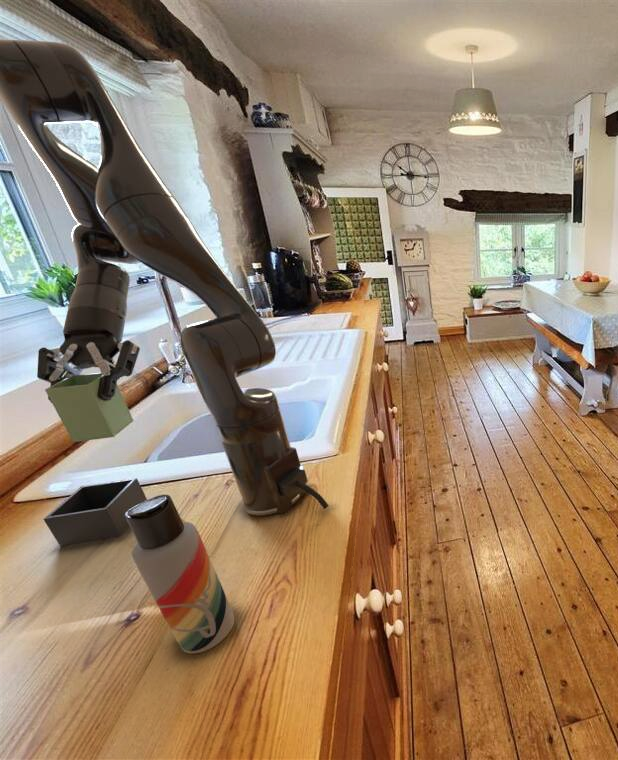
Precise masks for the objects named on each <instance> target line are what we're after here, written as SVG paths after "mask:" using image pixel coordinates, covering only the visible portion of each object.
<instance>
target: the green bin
mask: <svg viewBox="0 0 618 760" xmlns="http://www.w3.org/2000/svg"><path fill="white" fill-rule="evenodd" d="M103 376H104V375H102V373H101V372H94V373H93V372H92V373H83V374H82V373H81V374H79V375H74V376H70V377H68V378H66V379H64V380H62V381H60V382H58V383H56V384H55V385H53V386H51V387H50V386H48V387H47V388H45V389H44V391H45V393H46V394H47V397H48V396H49V398H50V400H51V402H52V403H51V402H50V403H51V404H52V406H53V408H54V409H55V412H56V413H57V415H58V417H59V419H60V421H61V422H62V424H63V426H64V428H65V430H66V432H67V434H68V436H69V438H70V439H71V441H72V442H73V443H78V442H87V441H94V440H101V439H108V438H115V437H116V436H117V435H119V434H120V433H121V432H122V431H123V430H125V428H127V427H128V426H129V425H131V424H132V423H133V422H134V418H133V415H132V413H131V412H130V409H129V407H128V404H127V403H126V401H125V398H124V397H123V394H122V391H121V390H120V387H119V386H118V383H117V384H116V390H115V395H114V396H113V397H112V398H111V400H108V401H104V400H102V399H100V398H98V396H97V394H98V388H99V382H100V377H103ZM50 400H49V401H50Z"/></svg>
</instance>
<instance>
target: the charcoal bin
mask: <svg viewBox="0 0 618 760" xmlns="http://www.w3.org/2000/svg"><path fill="white" fill-rule="evenodd" d="M146 500H148V499H147V497H146V494H145V492H144V490H143V487H142V485H141V484H140V482H139V480H138V478H137V477H134V478H128V479H127V478H126V479H121V480H113V481H108V482H101V483H100V482H99V483H94V484H86V485H81V486H79V487H78V488H77V489H76V490H75V491H73V492H72V493H71V494H70V495H69V496H68V497H67V498H66V499H65V500H63V501H62V502H61V503H60V504H59V505H57V507H55V508H54V509H53V510H52V511H51V512H50V513H49V514H48V515H46V516H45V517H44V518H43V521H44V523H45V525H46V527H48V530H50V532H51V534H52V536H53V537H54V539H55V541H56V542H57V544H58V545H59V547H68V546H74V545H79V544H84V543H85V544H86V543H91V542H96V541H97V542H98V541H103V540H107V539H108V540H109V539H113V538H114V539H115V538H120V537H122V536H123V535H124V533H125V532H126V531H127V530H128V529H129V528H130V525H129V523H128V521H127V519H126V517H125V513H126V512H127V511H128V510H129V509H131V508H133V507H134V506H136V505H138V504H140V503H142V502H144V501H146Z"/></svg>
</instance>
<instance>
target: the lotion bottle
mask: <svg viewBox="0 0 618 760" xmlns="http://www.w3.org/2000/svg"><path fill="white" fill-rule="evenodd" d="M125 517H126V519H127V521H128V523H129V525H130V526H129V528H130V529H131V532H132V534H133V536H134V538H135V540H136V543H135V545H134V546H133V548H132V549H131V557H132V559H133V561H134V564H135V566H136V568H137V569H138V572H139V573H140V575H141V577H142V579H143V581H144V583H145V585H146V586H147V588H148V590H149V592H150V594H151V596H152V598H153V600H154V602H155V603H156V605H157V608H158V609H159V611H160V613H161V615H162V616H163V618H164V620H165V622H166V624H167V626H168V628H169V630H170V631H171V633H172V635H173V637H174V638H175V639H174V640H176V642H177V644H178V646H179V647H180V648H181V650H182V651H183V652H184V653H187V654H199V653H202V652H206V651H208V650H211V649H212V648H214V647H215V646H217V645H218V644H220V643H221V642H222V641H223V640H224V639H225V638H226V637H227V636H228V635H229V634H230V632H231V631H232V628H233V626H234V624H235V615H234V612H233V609H232V607H231V604H230V602H229V600H228V596H227V595H226V593H225V590H224V588H223V586H222V583H221V581H220V579H219V576H218V575H217V572H216V570H215V567H214V565H213V562H212V561H211V558H210V556H209V554H208V551H207V549H206V546H205V544H204V542H203V539H202V537H201V535H200V533H199V531H198V529H197V527H196V525H195V524H194V523H192V522H189V521H186V522H182V520H181V518H182V517H181V516H180V514H179V512H178V510H177V507H176V505H175V503H174V500H173V499H172V497H171V495H169V494H159V495H156V496H153V497H150V498H149V499H147V500H146V501H144V502H142V503H140V504H138V505H136V506H134V507H133V508H131V509H129V510H128V511H127V512H126V513H125Z"/></svg>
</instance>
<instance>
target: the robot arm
mask: <svg viewBox="0 0 618 760" xmlns="http://www.w3.org/2000/svg"><path fill="white" fill-rule="evenodd" d="M103 83H104V82H102V80H101V79H100V77H99V75H98V73H97V72H96V71H95V69H94V68H93V65H92V64H91V63H90V62H89V61H88V60H87V58H86V57H85V56H84V55H83V54H82V53H81V52H80V51H79V50H78V49H77V48H75V47H74V46H72V45H70V44H67V43H64V42H58V41H49V40H48V41H43V40H28V39H27V40H25V39H3V38H2V39H1V38H0V100H1V102H2V104H3V105H4V107H5V108H6V110H7V112H8V113H9V114H10V116H11V117H12V119H13V120H14V122H15V123H16V125H17V127H18V128H19V130H20V131H21V133H22V134H23V136H24V137H25V139H26V140H27V142H28V144H29V146H30V147H31V148H32V150H33V151H34V152H35V153H36V155H37V156H38V158H39V159H40V161H41V162H42V163H43V165H44V166H45V168H46V169H47V171H48V172H49V173H50V175H51V177H52V178H53V180H54V181H55V183H56V186H57V187H58V189H59V191H60V193H61V195H62V197H63V199H64V201H65V203H66V205H67V207H68V209H69V212H70V213H71V216H72V217H73V219H74V220H75V221H76V222H77V223H78V224H77V225H75V226H74V227H73V229H72V232H71V238H72V244H73V247H74V250H75V255H76V259H77V275H76V282H75V285H74V289H73V292H72V294H71V296H70V299H69V302H68V306H67V311H66V317H65V320H64V324H63V330H62V334H63V337H64V341H63V342H62V344H61V345H60V346H59V347H56V348H51V349H49V348H47V347H45V346H44V347H41V348H40V349H38V353H37V354H38V355H37V373H36V376H37V377H36V378H37V379H39V380H42V381H44V382H46V383H48V384H50V386H49V387H51V386H53V385H55V384H56V383H58V382H60V381H62V380H64V379H66V378H68V377H70V376H74V375H81V374H82V372H83V371H84V370H87V369H90V368H98V369H99V371H100V373H102V375H104V376H103V377H100V382H99V388H98V394H97V396H98V398H100V399H102V400H104V401H108V400H111V398H112V397H113V396H114V395H115V390H116V384H117V385H118V381H120V379H121V378H123V377H131V376H132V375H133V372H134V369H135V367H136V363H137V359H138V356H139V354H140V351H141V348H140V347H139V346H138V345H137V344H136V343H134V342H132V341H131V340H129V339H128V340H124V341H123V338H124V337H123V336H124V331H125V325H126V318H127V312H128V304H127V301H128V296H129V295H128V294H129V289H130V282H131V280H130V278H131V277H130V275H129V273H128V272H127V271H126V269H124V268H122V267H121V266H120V265H117V264H115V263H119V264H125V265H126V264H127V265H137V264H140V263H141V264H143V265H144V266H146V267H148V268H149V269H151V270H152V271H154V272H156V273H157V274H159V275H161V276H162V277H164V278H166V279H168V280H169V281H171V282H174V283H175V284H177V285H178V286H180V287H181V288H184V289H185V290H187V291H188V292H190V293H191V294H192V295H194V296H195V297H196V298H197V299H199V300H200V301H201V302H202V303H203V304H204V305H205V306H206V308H208V310H209V311H210V312H211V313H212V314H213V316H214V317H215V318H211V319H207V320H202V321H199V322H196V323H192V324H189V325H187V326H185V327H184V328H183V329H182V330H181V333H180V335H179V336H180V339H179V343H180V348H181V352H182V355H183V358H184V360H185V362H186V363H185V364H186V365H187V368H188V369H189V372H190V374H191V376H192V378H193V380H194V382H195V385H196V387H197V390H198V392H199V394H200V396H201V399H202V402H203V404H204V405H205V407H206V409H207V411H208V412H209V413H210V416H211V417H212V420H213V422H214V425H215V428H216V431H217V433H218V436H219V439H220V442H221V444H222V447H223V450H224V454H225V455H226V459H227V461H228V464H229V467H230V469H231V472H232V475H233V478H234V481H235V483H236V486H237V488H238V491H239V495H240V496H241V498H242V502H243V507H244V509H245V511H246V513H247V514H249V515H250V516H255V517H265V516H271V515H275V514H285V513H286V512H287V511H289V510H290V509H291V508H292V507H293V506H294V505H295V504H296V503H298V501H299V500H300V499H301V498H302V497H303V496H305V495H306V494H307V493H308V494H309V495H311V496H312V497H313V498H314V499H315V500H316V501H317V502H318V503H319V505H320V506H321V507H322V509H324V510H326V509H327V508H328V507H329V503H328V502H327V501H326V500H325V498H323V496H322V495H321V494H320V493H319V492H317V490H316V489H313V488H312V487H310V486H309V485H307V483H308V481H309V480H308V478H307V473H306V470H305V469H304V466H303V465H301V462H300V458H299V454H298V450H297V448H296V447H293V446H291V443H290V440H289V436H288V433H287V429H286V426H285V422H284V418H283V415H282V412H281V407H280V404H279V401H278V397H277V395H276V393H275V392H274V391H273V390H271V389H268V388H263V387H248V388H247V387H245V388H241V386H240V384H239V382H238V379H237V378H239V377H242V376H244V375H247V374H249V373H252V372H254V371H257V370H260V369H262V368H265V367H266V366H269V365H270V364H272V363H273V362H274V361H275V359H276V355H277V347H276V343H275V341H274V338H273V336H272V333H271V332H270V331H269V328H268V327H267V325H266V324H265V322H264V321H263V319H262V318H261V317H260V316H259V314H258V313H257V312H256V310H255V309H254V308H253V307H252V305H251V304H250V303H249V302H248V300H247V299H246V298H245V296H244V295H243V294H242V293H241V292H240V290H239V289H238V288H237V287H236V286H235V285H234V283H233V281H231V279H230V278H229V277H228V275H227V274H226V273H225V272H224V270H223V268H222V267H221V266H220V265H219V263H218V262H217V260H216V259H215V257H214V256H213V254H212V253H211V252H210V250H209V248H208V246H206V243H204V241H203V239H202V238H201V236H200V234H199V233H198V232H197V230H196V228H195V226H194V225H193V223H192V222H191V219H190V218H189V217H188V216H187V214H186V213H185V211H184V209H183V208H182V206H181V205H180V203H179V202H178V201H177V199H176V197H175V196H174V195H173V193H172V192H171V191H170V189H169V187H167V185H166V184H165V183H164V181H163V179H162V178H161V177H160V175H159V174H158V172H157V171H156V169H155V168H154V166H153V165H152V163H151V162H150V160H149V159H148V158H147V156H146V154H145V153H144V151H143V150H142V148H141V147H140V145H139V143H138V142H137V140H136V139H135V137H134V135H133V133H132V132H131V130H130V128H129V127H128V125H127V123H126V121H125V120H124V118H123V116H122V115H121V113H120V110H119V109H118V108H117V105H116V104H115V102H114V101H113V99H112V97H111V95H110V94H109V92H108V90H107V88H106V86H105V85H104V84H103ZM69 123H70V124H71V123H92V124H93V125H94V126H96V128H97V129H98V131H99V137H100V160H99V165H98V166H99V167H97V165H95V164H93V163H92V162H90V160H88V159H86V158H85V157H84V156H82V154H81V155H80V154H79V153H78V152H76V151H75V150H73V149H72V148H71V147H69V146H68V145H67V144H65V143H64V142H63V141H62V140H60V139H59V137H57V136H56V135H55V134H54V133H53V131H52V130H51V129H50V128H49V126H48V125H47V124H49V125H50V124H51V125H52V124H69ZM122 341H123V342H122ZM117 354H118V357H117V360H116V362H115V360H114V358H115V356H117ZM70 365H72V366H73V367H71V366H70ZM47 399H48V401H49V402H50V403H51V404H52V402H51V400H50V398H49V396H48V395H47Z"/></svg>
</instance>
